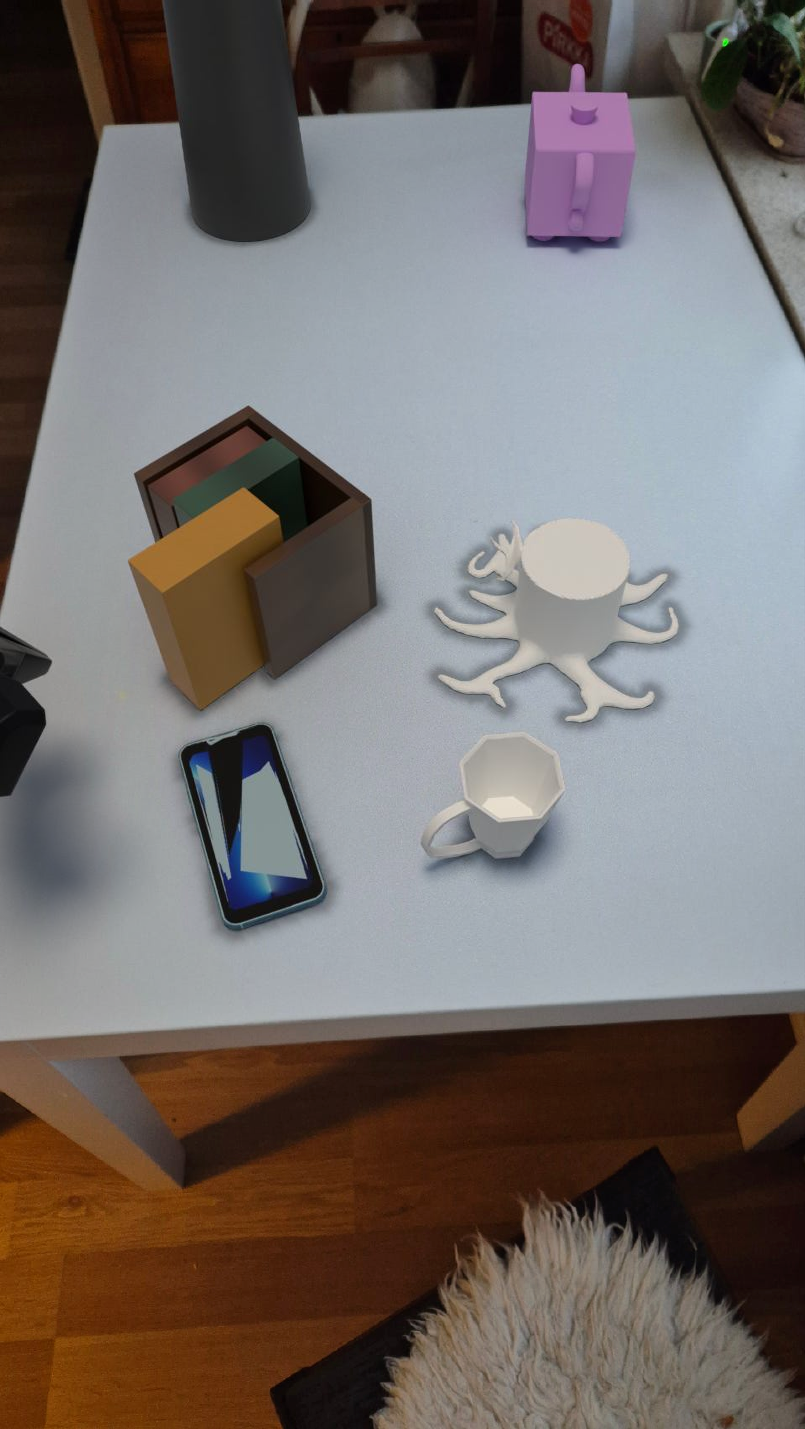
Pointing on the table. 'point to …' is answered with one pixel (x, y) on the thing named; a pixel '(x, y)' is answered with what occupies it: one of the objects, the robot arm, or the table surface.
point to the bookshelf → (314, 522)
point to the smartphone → (250, 826)
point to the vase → (237, 117)
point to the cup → (502, 796)
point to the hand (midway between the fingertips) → (46, 664)
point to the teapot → (578, 162)
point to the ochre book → (207, 595)
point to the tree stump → (561, 608)
